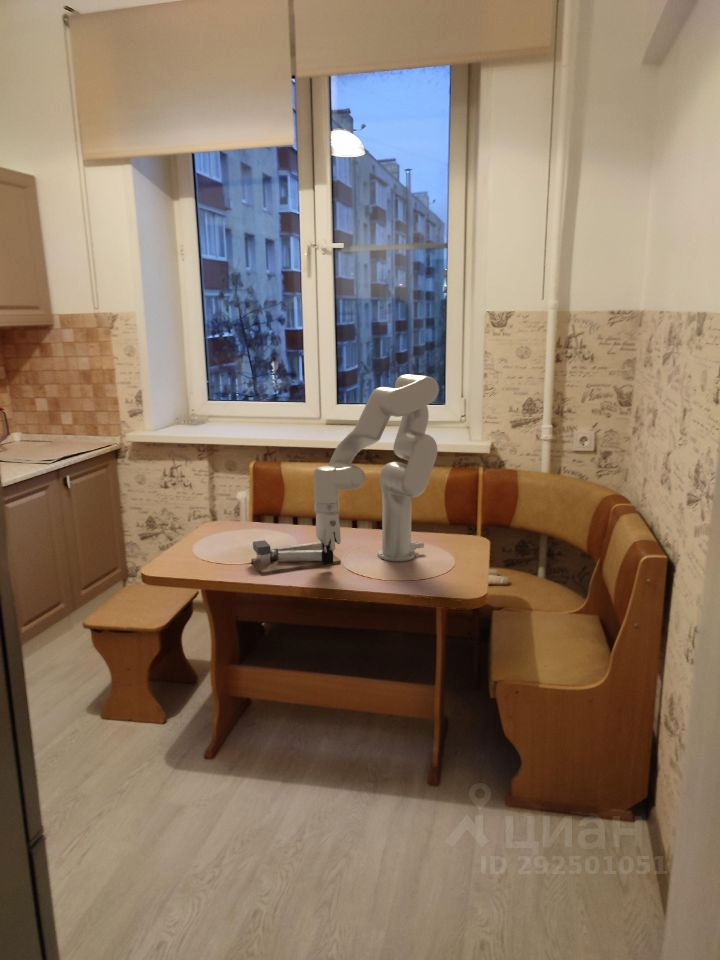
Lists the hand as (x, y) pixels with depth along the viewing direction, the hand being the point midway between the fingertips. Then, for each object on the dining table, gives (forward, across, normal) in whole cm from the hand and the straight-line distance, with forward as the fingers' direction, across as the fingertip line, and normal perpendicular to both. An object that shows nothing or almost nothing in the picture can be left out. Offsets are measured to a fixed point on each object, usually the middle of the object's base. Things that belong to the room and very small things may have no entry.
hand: (327, 563), depth 208 cm
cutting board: (+2, +11, +7) cm, 13 cm away
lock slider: (-2, +13, +17) cm, 22 cm away
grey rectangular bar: (+1, +10, +6) cm, 11 cm away
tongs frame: (+1, +13, +7) cm, 15 cm away
